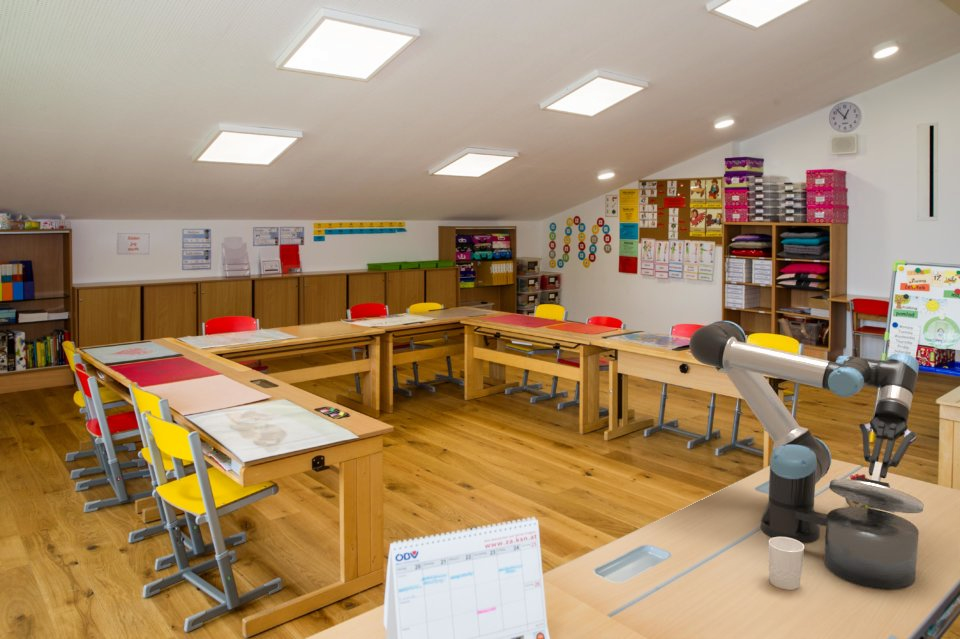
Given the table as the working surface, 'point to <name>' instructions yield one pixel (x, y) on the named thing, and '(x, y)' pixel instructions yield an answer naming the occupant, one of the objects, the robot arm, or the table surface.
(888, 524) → the cooker pot
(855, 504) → the bird rattle
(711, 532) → the table surface
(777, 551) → the white cup
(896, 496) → the cooker lid
